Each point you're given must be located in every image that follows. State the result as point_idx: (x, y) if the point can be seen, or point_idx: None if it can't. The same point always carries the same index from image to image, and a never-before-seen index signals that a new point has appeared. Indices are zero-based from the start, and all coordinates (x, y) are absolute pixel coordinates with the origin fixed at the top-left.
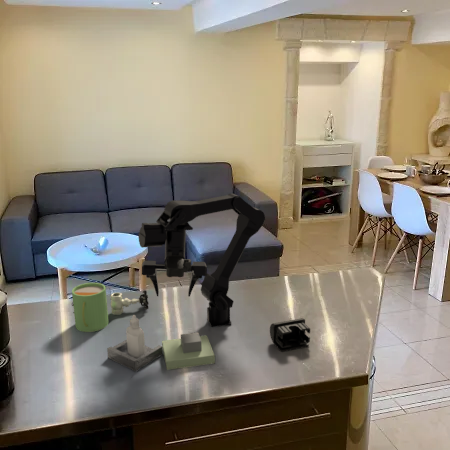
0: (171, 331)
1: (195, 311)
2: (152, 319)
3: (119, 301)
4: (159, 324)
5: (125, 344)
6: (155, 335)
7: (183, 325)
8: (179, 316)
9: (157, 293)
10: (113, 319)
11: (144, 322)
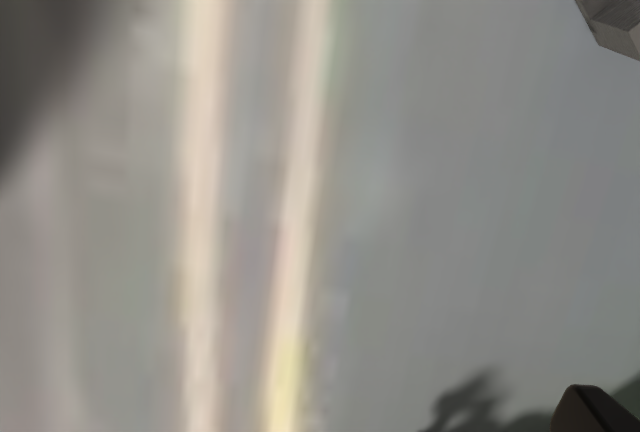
0: (277, 164)
1: (58, 420)
2: (393, 355)
3: None
4: (356, 284)
5: None
6: (417, 127)
7: (165, 240)
8: (190, 369)
9: (625, 427)
10: (631, 385)
11: (455, 326)
